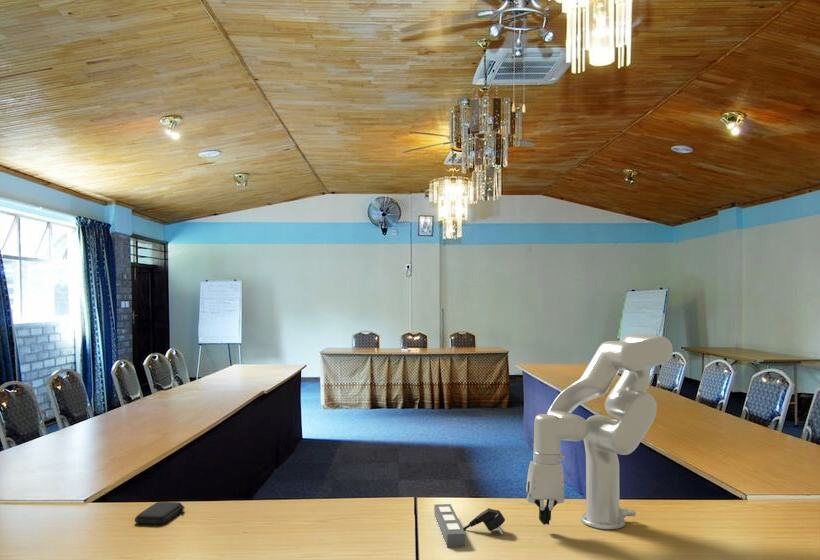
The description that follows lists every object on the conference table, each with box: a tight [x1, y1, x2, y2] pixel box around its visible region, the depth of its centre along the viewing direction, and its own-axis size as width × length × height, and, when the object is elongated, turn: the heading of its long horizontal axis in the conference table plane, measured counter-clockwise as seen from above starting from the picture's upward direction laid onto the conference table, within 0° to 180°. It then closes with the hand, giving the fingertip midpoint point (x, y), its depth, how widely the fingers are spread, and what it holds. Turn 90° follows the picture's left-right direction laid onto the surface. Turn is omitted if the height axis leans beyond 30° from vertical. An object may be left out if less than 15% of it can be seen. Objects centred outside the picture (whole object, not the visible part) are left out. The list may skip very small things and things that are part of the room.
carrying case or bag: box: [134, 501, 185, 526], centre depth 188 cm, size 11×3×15 cm
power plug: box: [462, 508, 506, 536], centre depth 177 cm, size 6×8×12 cm
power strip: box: [433, 503, 467, 548], centre depth 178 cm, size 5×24×4 cm, turn 6°
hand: (544, 522), depth 176 cm, fingers closed
